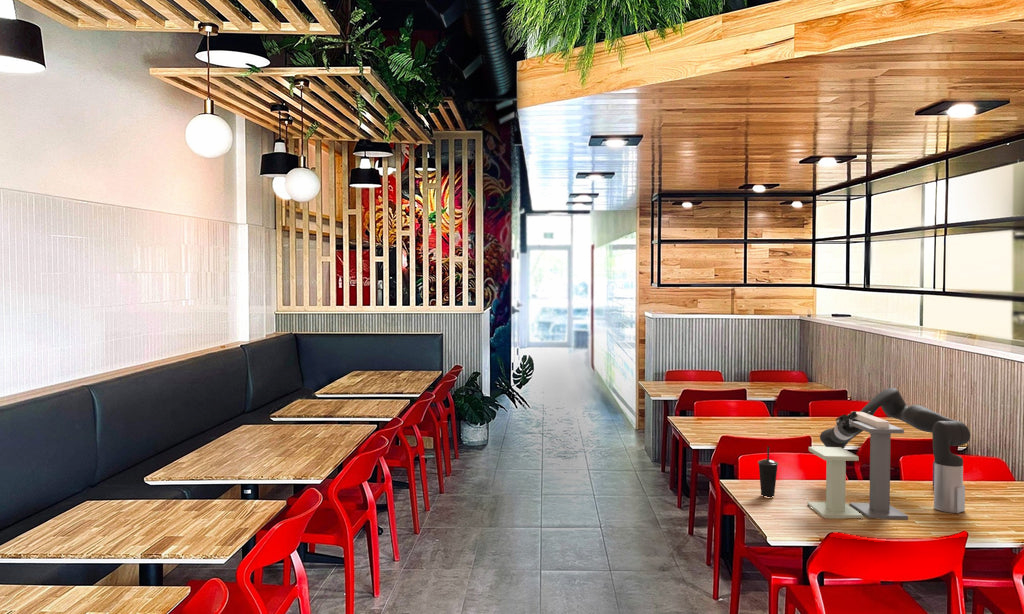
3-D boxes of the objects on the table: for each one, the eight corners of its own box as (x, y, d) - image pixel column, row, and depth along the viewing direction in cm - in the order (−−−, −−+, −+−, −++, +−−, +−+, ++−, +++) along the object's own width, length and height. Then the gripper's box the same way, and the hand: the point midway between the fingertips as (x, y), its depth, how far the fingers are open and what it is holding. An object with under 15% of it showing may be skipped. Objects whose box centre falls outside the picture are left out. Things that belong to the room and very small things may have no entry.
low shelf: (805, 503, 282) (806, 446, 282) (842, 504, 282) (843, 447, 281) (823, 518, 264) (824, 457, 264) (863, 518, 264) (863, 457, 263)
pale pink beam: (851, 417, 290) (851, 411, 290) (862, 417, 290) (862, 411, 290) (877, 427, 268) (877, 421, 268) (889, 427, 268) (889, 421, 268)
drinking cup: (778, 495, 294) (779, 445, 293) (777, 500, 287) (777, 449, 287) (758, 493, 297) (759, 443, 297) (756, 497, 290) (757, 447, 290)
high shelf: (847, 504, 282) (848, 421, 281) (884, 504, 281) (885, 421, 281) (868, 518, 264) (869, 430, 263) (908, 519, 263) (909, 430, 263)
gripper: (827, 419, 301) (842, 404, 286) (862, 419, 301) (879, 404, 286) (830, 436, 298) (846, 422, 283) (866, 437, 297) (883, 422, 282)
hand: (862, 413), depth 284 cm, fingers open, 5 cm apart
